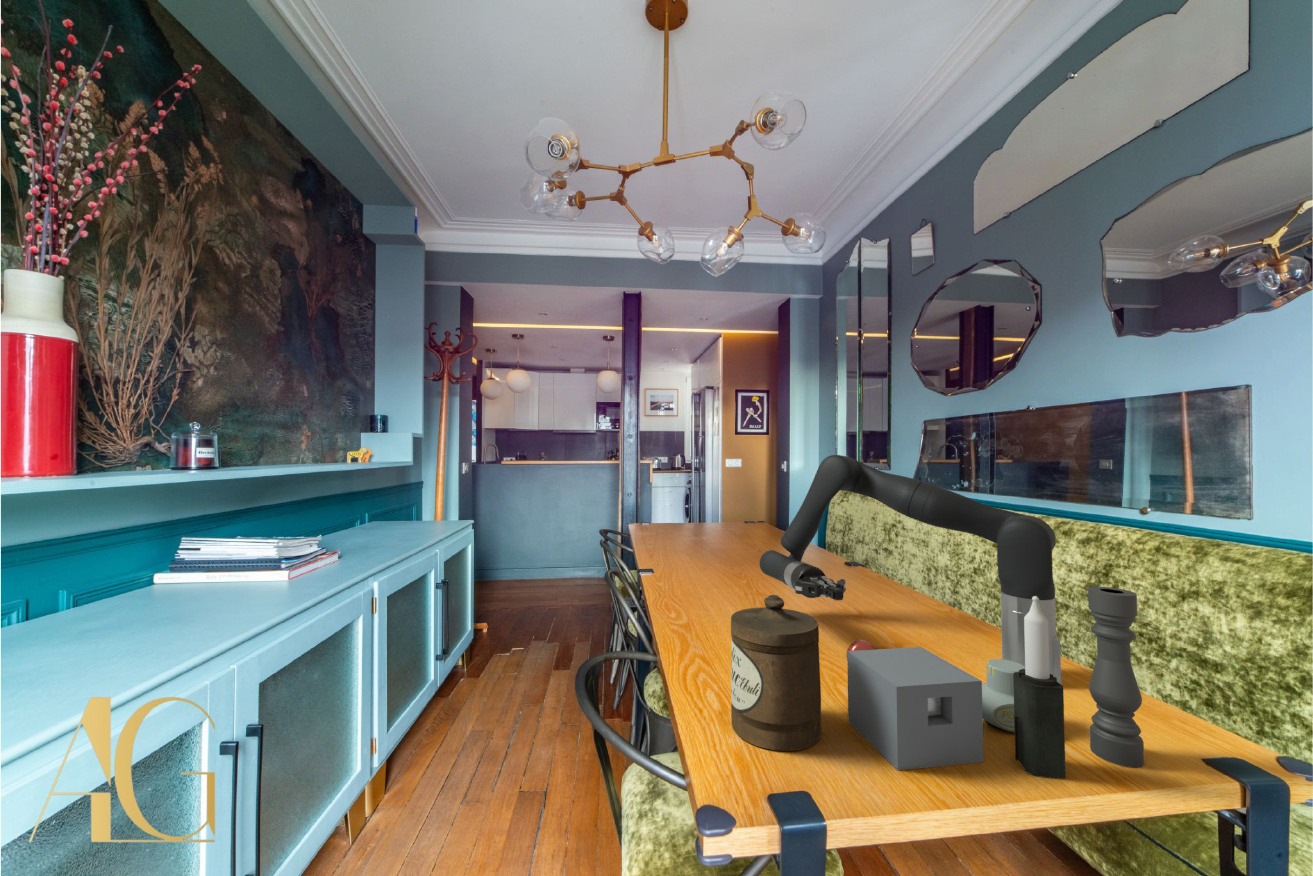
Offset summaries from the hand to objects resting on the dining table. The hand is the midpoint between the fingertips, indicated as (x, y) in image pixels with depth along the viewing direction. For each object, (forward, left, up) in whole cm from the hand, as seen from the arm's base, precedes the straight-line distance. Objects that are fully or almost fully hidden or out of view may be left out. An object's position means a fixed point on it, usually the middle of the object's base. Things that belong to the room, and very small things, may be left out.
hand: (839, 595), depth 111 cm
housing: (-11, +25, -16) cm, 32 cm away
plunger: (-9, +21, -11) cm, 25 cm away
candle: (-28, +26, -16) cm, 42 cm away
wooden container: (+10, +29, -16) cm, 34 cm away
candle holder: (-40, +18, -16) cm, 47 cm away
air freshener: (-27, +13, -16) cm, 34 cm away
